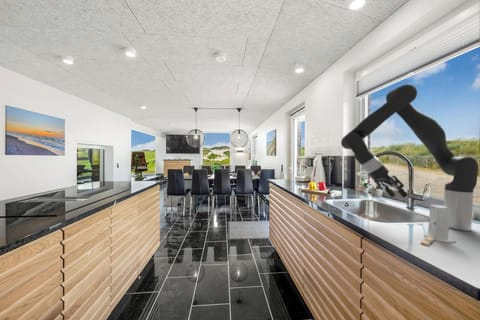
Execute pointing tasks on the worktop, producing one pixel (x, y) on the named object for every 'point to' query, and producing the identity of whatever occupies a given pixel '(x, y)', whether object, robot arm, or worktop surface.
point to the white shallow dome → (449, 240)
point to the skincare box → (439, 221)
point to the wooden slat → (427, 241)
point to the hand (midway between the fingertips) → (399, 196)
